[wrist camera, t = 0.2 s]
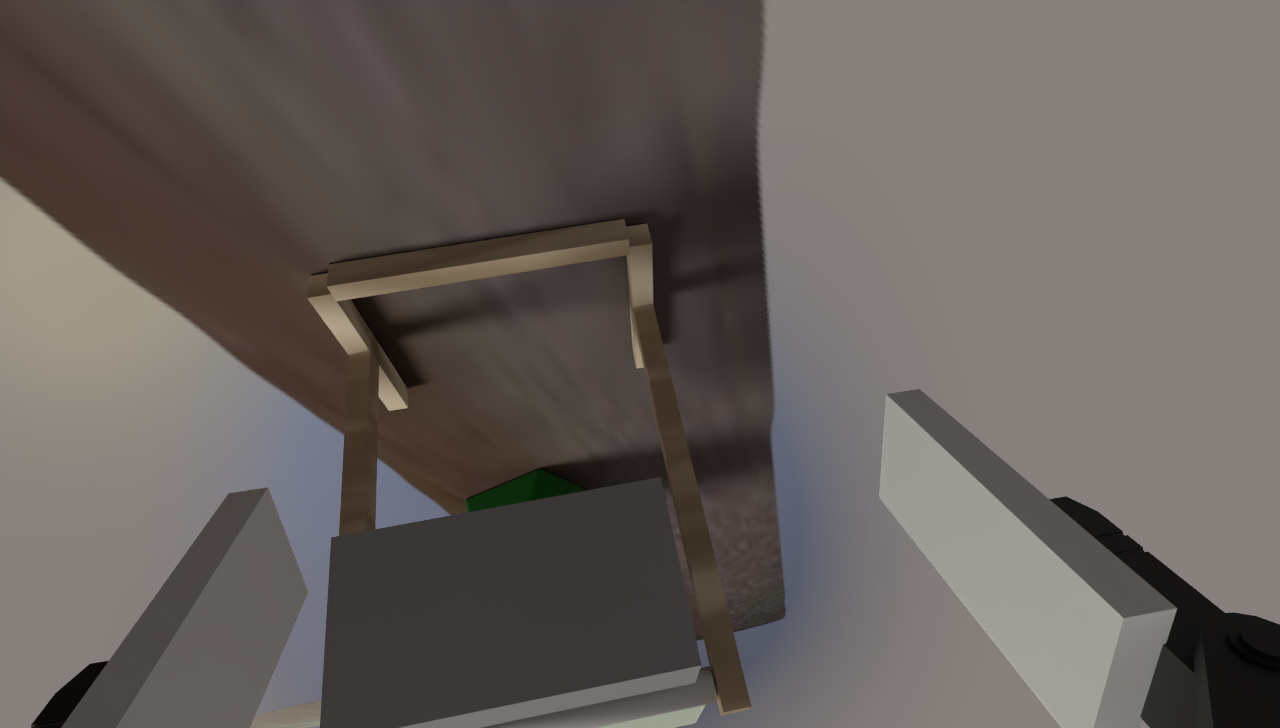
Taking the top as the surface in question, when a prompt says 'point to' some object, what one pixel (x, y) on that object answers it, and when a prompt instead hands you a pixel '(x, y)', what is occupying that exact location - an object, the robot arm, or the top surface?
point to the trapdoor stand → (609, 240)
